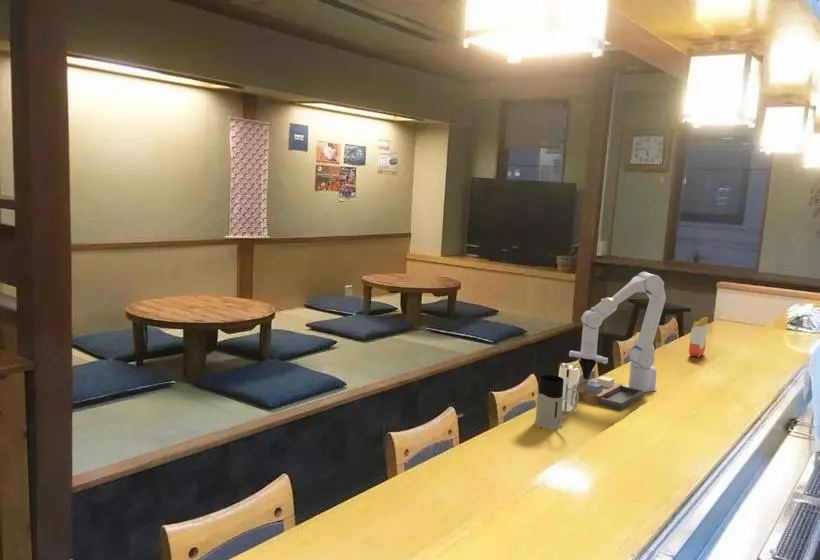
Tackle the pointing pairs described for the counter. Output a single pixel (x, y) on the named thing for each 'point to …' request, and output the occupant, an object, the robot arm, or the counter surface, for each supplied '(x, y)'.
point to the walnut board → (596, 397)
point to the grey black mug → (551, 402)
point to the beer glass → (569, 385)
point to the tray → (622, 398)
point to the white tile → (606, 381)
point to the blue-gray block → (594, 387)
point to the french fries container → (698, 337)
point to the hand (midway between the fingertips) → (586, 378)
